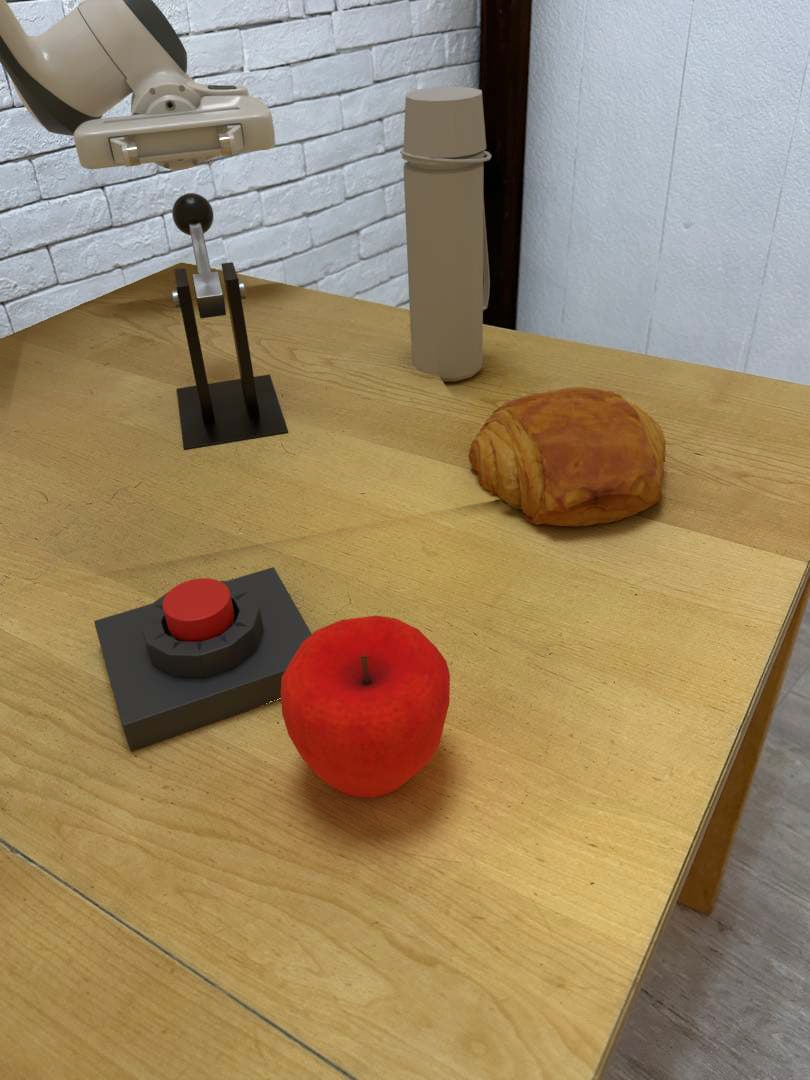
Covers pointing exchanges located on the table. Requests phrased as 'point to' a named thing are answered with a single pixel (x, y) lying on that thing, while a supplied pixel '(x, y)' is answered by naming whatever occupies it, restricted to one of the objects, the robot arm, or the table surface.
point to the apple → (366, 703)
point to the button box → (200, 661)
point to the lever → (200, 252)
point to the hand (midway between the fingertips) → (180, 152)
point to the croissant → (571, 457)
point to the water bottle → (446, 229)
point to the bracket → (226, 404)
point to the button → (198, 610)
